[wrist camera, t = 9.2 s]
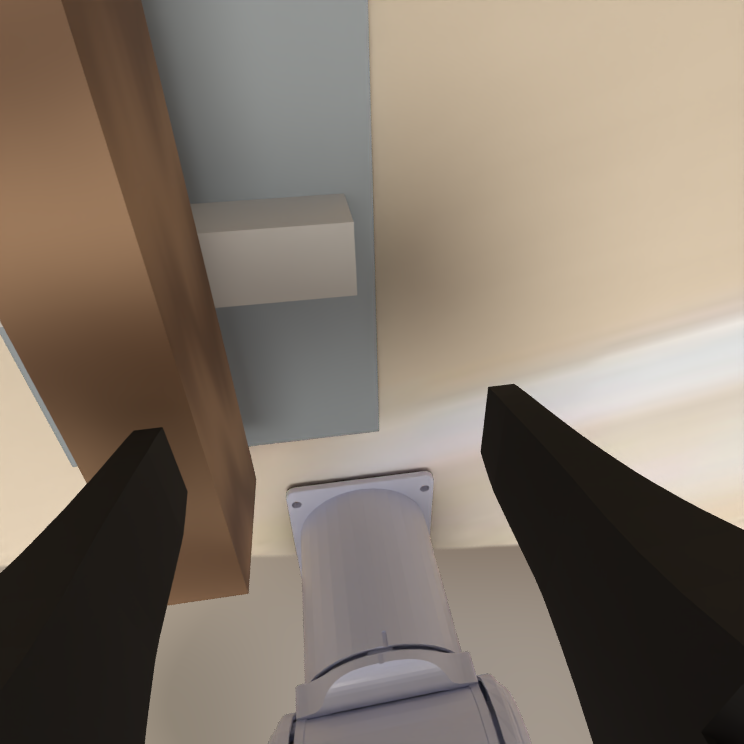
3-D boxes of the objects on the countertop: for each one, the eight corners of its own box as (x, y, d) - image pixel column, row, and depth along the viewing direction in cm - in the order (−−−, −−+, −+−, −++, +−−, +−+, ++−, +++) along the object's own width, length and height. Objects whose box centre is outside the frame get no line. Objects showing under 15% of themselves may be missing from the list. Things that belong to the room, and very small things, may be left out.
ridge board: (376, 417, 24) (389, 477, 21) (80, 451, 23) (46, 521, 20) (358, -168, 13) (382, -232, 10) (-243, -170, 11) (-451, -245, 8)
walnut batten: (256, 478, 20) (248, 593, 16) (180, 488, 20) (153, 607, 16) (104, -155, 10) (-28, -280, 6) (-61, -154, 9) (-327, -288, 5)
